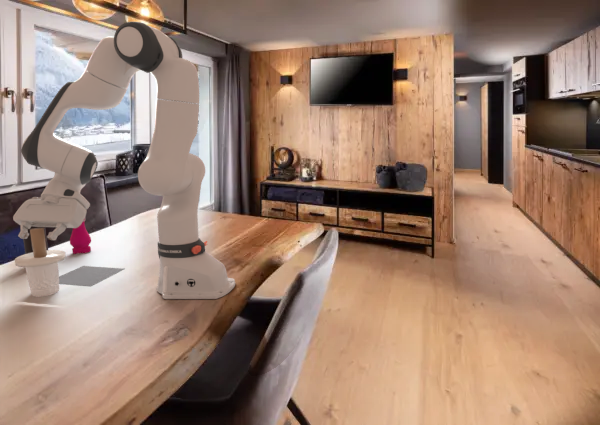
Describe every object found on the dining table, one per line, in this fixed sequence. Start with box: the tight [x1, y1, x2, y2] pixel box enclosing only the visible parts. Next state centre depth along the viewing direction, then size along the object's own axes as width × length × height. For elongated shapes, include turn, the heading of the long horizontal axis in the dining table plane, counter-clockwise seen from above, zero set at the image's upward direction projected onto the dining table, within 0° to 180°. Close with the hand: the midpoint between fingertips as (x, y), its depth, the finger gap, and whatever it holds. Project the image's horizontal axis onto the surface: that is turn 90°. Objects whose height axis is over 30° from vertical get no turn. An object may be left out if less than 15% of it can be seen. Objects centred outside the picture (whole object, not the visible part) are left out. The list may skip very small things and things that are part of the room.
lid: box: [14, 228, 66, 268], centre depth 113 cm, size 12×12×9 cm
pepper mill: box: [69, 217, 92, 255], centre depth 155 cm, size 7×7×20 cm
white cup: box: [24, 262, 60, 298], centre depth 115 cm, size 8×8×10 cm
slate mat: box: [59, 265, 125, 287], centre depth 129 cm, size 16×16×1 cm
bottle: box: [22, 226, 49, 254], centre depth 140 cm, size 7×7×20 cm
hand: (36, 238), depth 112 cm, fingers open, 8 cm apart
